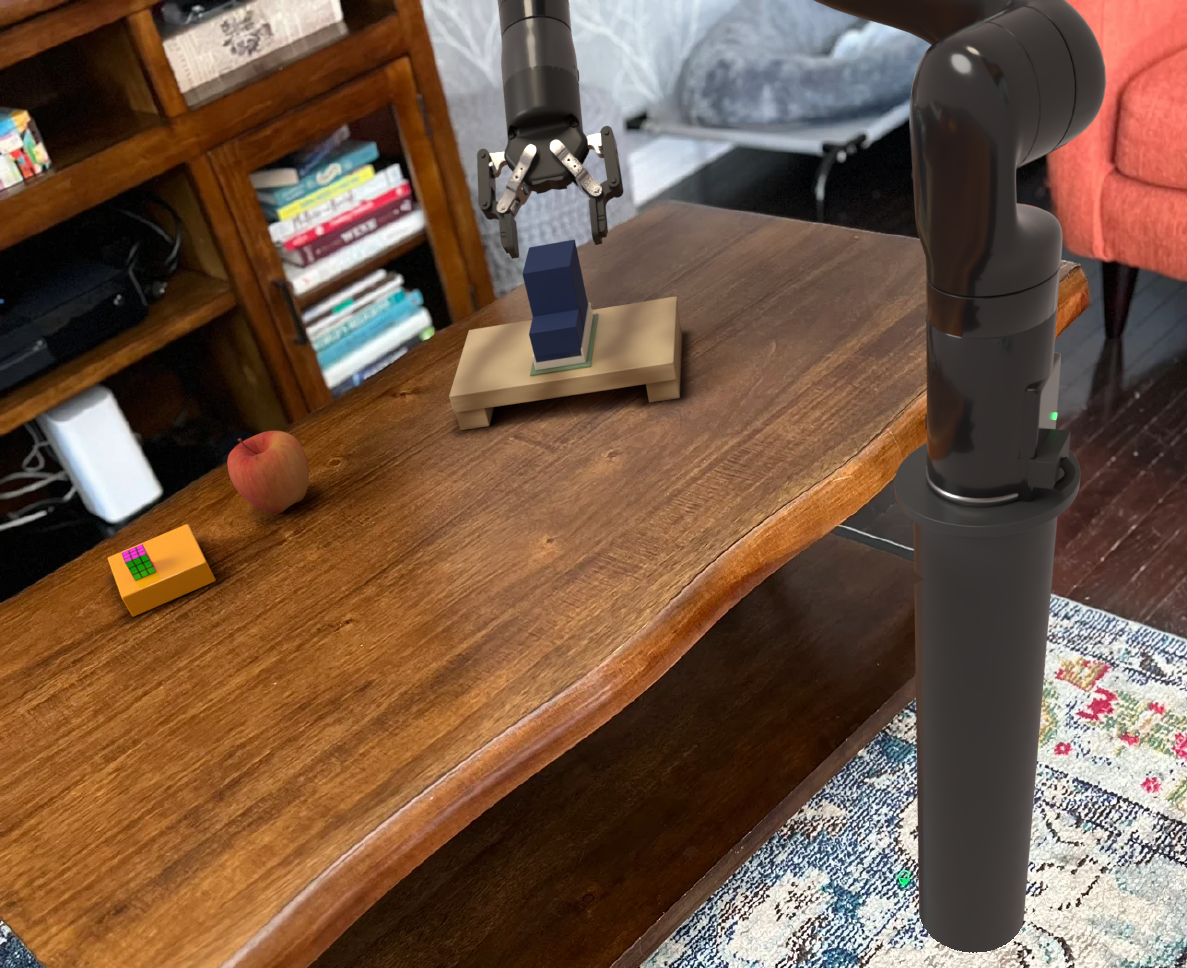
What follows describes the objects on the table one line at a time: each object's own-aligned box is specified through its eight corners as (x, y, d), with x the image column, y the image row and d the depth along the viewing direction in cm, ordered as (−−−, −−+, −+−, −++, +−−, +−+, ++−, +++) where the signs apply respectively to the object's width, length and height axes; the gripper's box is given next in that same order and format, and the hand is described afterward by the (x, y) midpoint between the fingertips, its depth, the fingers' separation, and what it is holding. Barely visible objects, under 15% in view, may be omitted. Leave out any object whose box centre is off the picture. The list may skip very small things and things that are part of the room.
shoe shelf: (682, 333, 127) (676, 294, 124) (679, 401, 118) (673, 360, 115) (478, 365, 131) (468, 328, 128) (459, 433, 122) (448, 394, 119)
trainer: (545, 323, 126) (527, 245, 120) (593, 315, 125) (577, 236, 119) (535, 370, 119) (515, 290, 113) (586, 363, 118) (568, 281, 112)
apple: (336, 494, 118) (306, 419, 113) (278, 534, 115) (245, 460, 109) (291, 477, 122) (260, 404, 117) (234, 515, 119) (199, 442, 114)
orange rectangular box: (118, 576, 115) (96, 539, 112) (197, 542, 117) (178, 504, 114) (132, 617, 110) (110, 579, 107) (216, 581, 111) (196, 542, 108)
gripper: (461, 78, 119) (476, 245, 119) (604, 49, 117) (620, 220, 117) (481, 117, 127) (496, 274, 127) (617, 91, 124) (631, 252, 124)
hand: (555, 248), depth 122 cm, fingers open, 8 cm apart
